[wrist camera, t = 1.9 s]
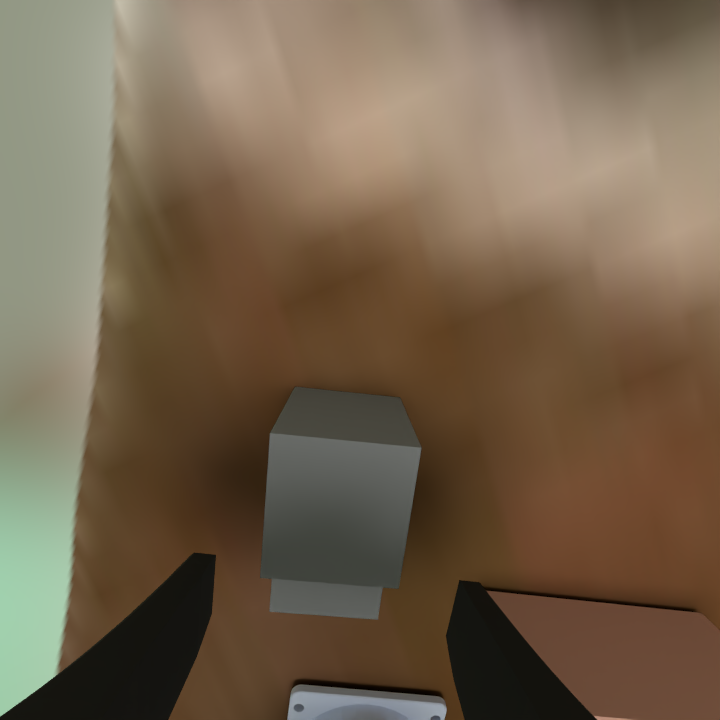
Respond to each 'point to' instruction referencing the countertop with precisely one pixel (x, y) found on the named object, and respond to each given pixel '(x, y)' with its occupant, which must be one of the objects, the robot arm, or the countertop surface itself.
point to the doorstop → (337, 502)
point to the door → (624, 655)
